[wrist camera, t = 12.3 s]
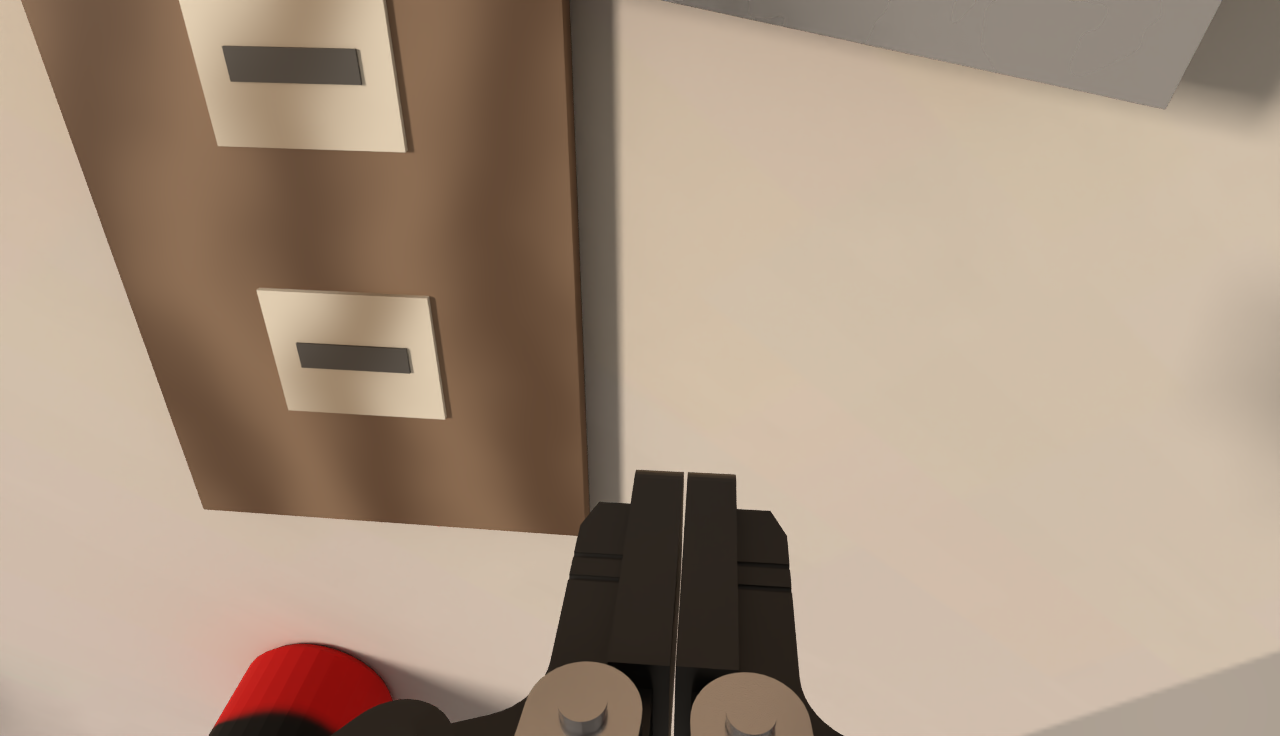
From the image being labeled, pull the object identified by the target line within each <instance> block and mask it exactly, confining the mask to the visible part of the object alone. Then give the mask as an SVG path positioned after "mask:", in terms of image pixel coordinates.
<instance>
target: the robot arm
mask: <svg viewBox="0 0 1280 736" xmlns="http://www.w3.org/2000/svg"><path fill="white" fill-rule="evenodd" d="M683 491H684V472H670V471H650V470H636V473H635V478H634V485H633V492H632V498H631V504H626V503H608V502H599V503H598V504H597V505H596V507H595V508H594V509H593V510H592V511H591V513H590V514H589V515H588V516H587V517H586V519H585V520H584V521H583V522H582V523H581V525H580V528H579V533H578V537H577V542H576V547H575V551H574V557H573V560H572V565H571V569H570V574H569V580H568V583H567V588H566V592H565V597H564V601H563V606H562V611H561V615H560V620H559V624H558V629H557V633H556V638H555V643H554V647H553V652H552V656H551V661H550V664H549V667H548V670H547V672H546V674H545V676H544V677H542V678H541V679H540V680H539V681H538V682H537V683H536V684H535V686H534V687H533V689H532V690H531V692H530V693H529V695H528V696H527V697H526V698H525V699H523V700H522V701H521V702H519V703H517V704H515V705H514V706H512V707H510V708H508V709H505V710H503V711H501V712H497V713H494V714H491V715H486V716H482V717H478V718H473V719H469V720H464V721H460V722H455V723H450V721H449V719H448V718H447V717H446V715H445V714H444V713H443V712H442V711H441V710H439V709H438V708H437V707H435V706H433V705H431V704H429V703H426V702H423V701H419V700H411V699H404V700H394V701H389V702H386V703H382V704H379V705H377V706H375V707H373V708H370V709H368V710H367V711H365V712H363V713H362V714H360V715H359V716H357V717H356V718H354V719H353V720H352V721H350V722H349V723H347V724H346V725H345V726H343V727H342V728H340V729H339V730H338V731H336V732H335V733H333V734H332V735H331V736H671V723H672V708H673V692H674V676H675V714H674V736H843V735H841V734H840V733H838V732H836V731H835V730H833V729H832V728H831V727H829V726H828V725H827V724H826V723H824V722H823V721H822V720H821V719H820V718H819V717H818V716H817V715H816V713H815V712H814V711H813V709H812V708H811V707H810V705H809V704H808V702H807V700H806V698H805V696H804V694H803V691H802V688H801V683H800V677H799V666H798V655H797V644H796V632H795V621H794V610H793V599H792V593H791V576H790V570H789V554H788V542H787V535H786V534H785V532H784V531H783V529H782V528H781V526H780V525H779V523H778V522H777V520H776V519H775V517H774V516H773V514H772V513H771V511H761V510H742V509H737V505H736V475H733V474H713V473H694V472H688V479H687V494H686V510H685V526H684V542H683V558H682V527H683ZM681 559H682V574H681ZM680 581H681V590H680ZM679 598H680V606H679ZM678 613H679V622H678ZM677 629H678V638H677ZM676 645H677V654H676ZM675 660H676V675H675Z"/></svg>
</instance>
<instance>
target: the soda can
mask: <svg viewBox="0 0 1280 736" xmlns="http://www.w3.org/2000/svg"><path fill="white" fill-rule="evenodd" d="M389 701H393V700H392V698H391V695H390V693H389V690H388V688H387V686H386V685H385V683H384V682H383V680H382V679H381V678H380V677H379V676H378V675H377V674H376V672H375V671H374V670H372V669H371V668H370V667H368V666H367V665H366V664H365V663H363V662H362V661H360V660H358V659H356V658H355V657H353V656H351V655H349V654H346V653H344V652H341V651H339V650H336V649H332V648H329V647H325V646H320V645H313V644H292V645H285V646H282V647H279V648H276V649H273V650H270V651H267V652H265V653H264V654H262V655H260V656H259V657H257V658H256V659H255V660H254V661H253V662H252V664H251V665H250V666H249V668H248V670H247V672H246V673H245V675H244V677H243V678H242V680H241V682H240V683H239V685H238V687H237V688H236V690H235V692H234V694H233V695H232V697H231V699H230V700H229V702H228V704H227V705H226V707H225V709H224V710H223V712H222V714H221V716H220V717H219V719H218V721H217V722H216V724H215V726H214V727H213V729H212V731H211V732H210V734H209V736H331V735H332V734H333V733H335V732H336V731H338V730H339V729H340V728H342V727H343V726H345V725H346V724H347V723H349V722H350V721H352V720H353V719H354V718H356V717H357V716H359V715H360V714H362V713H363V712H365V711H367V710H368V709H370V708H373V707H375V706H377V705H379V704H382V703H386V702H389Z"/></svg>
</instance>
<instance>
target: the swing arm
mask: <svg viewBox="0 0 1280 736" xmlns="http://www.w3.org/2000/svg"><path fill="white" fill-rule="evenodd" d="M663 1H668V2H672V3H677V4H682V5H686V6H691V7H695V8H700V9H705V10H709V11H714V12H718V13H723V14H728V15H732V16H737V17H741V18H746V19H751V20H755V21H760V22H764V23H769V24H774V25H778V26H783V27H787V28H792V29H797V30H801V31H806V32H810V33H815V34H820V35H824V36H829V37H834V38H838V39H843V40H847V41H852V42H857V43H861V44H866V45H870V46H875V47H880V48H884V49H889V50H893V51H898V52H903V53H907V54H912V55H916V56H921V57H926V58H930V59H935V60H939V61H944V62H949V63H953V64H958V65H962V66H967V67H972V68H976V69H981V70H986V71H990V72H995V73H999V74H1004V75H1009V76H1013V77H1018V78H1022V79H1027V80H1032V81H1036V82H1041V83H1045V84H1050V85H1055V86H1059V87H1064V88H1068V89H1073V90H1078V91H1082V92H1087V93H1091V94H1096V95H1101V96H1105V97H1110V98H1114V99H1119V100H1124V101H1128V102H1133V103H1138V104H1142V105H1147V106H1151V107H1156V108H1161V109H1166V107H1167V105H1168V103H1169V101H1170V100H1171V98H1172V96H1173V94H1174V92H1175V90H1176V88H1177V86H1178V84H1179V82H1180V80H1181V78H1182V77H1183V75H1184V73H1185V71H1186V69H1187V67H1188V65H1189V63H1190V61H1191V59H1192V57H1193V55H1194V54H1195V52H1196V50H1197V48H1198V46H1199V44H1200V42H1201V40H1202V38H1203V36H1204V34H1205V32H1206V31H1207V29H1208V27H1209V25H1210V23H1211V21H1212V19H1213V17H1214V15H1215V13H1216V11H1217V9H1218V8H1219V6H1220V4H1221V2H1222V0H663Z"/></svg>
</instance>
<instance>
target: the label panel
mask: <svg viewBox="0 0 1280 736" xmlns="http://www.w3.org/2000/svg"><path fill="white" fill-rule="evenodd" d="M21 1H22V4H23V7H24V9H25V12H26V15H27V18H28V21H29V23H30V26H31V29H32V32H33V35H34V37H35V40H36V43H37V46H38V48H39V51H40V54H41V57H42V60H43V62H44V65H45V68H46V71H47V74H48V76H49V79H50V82H51V85H52V87H53V90H54V93H55V96H56V99H57V101H58V104H59V107H60V110H61V113H62V115H63V118H64V121H65V124H66V126H67V129H68V132H69V135H70V138H71V140H72V143H73V146H74V149H75V152H76V154H77V157H78V160H79V163H80V165H81V168H82V171H83V174H84V177H85V179H86V182H87V185H88V188H89V191H90V193H91V196H92V199H93V202H94V204H95V207H96V210H97V213H98V216H99V218H100V221H101V224H102V227H103V230H104V232H105V235H106V238H107V241H108V243H109V246H110V249H111V252H112V255H113V257H114V260H115V263H116V266H117V269H118V271H119V274H120V277H121V280H122V282H123V285H124V288H125V291H126V294H127V296H128V299H129V302H130V305H131V308H132V310H133V313H134V316H135V319H136V321H137V324H138V327H139V330H140V333H141V335H142V338H143V341H144V344H145V347H146V349H147V352H148V355H149V358H150V360H151V363H152V366H153V369H154V372H155V374H156V377H157V380H158V383H159V386H160V388H161V391H162V394H163V397H164V399H165V402H166V405H167V408H168V411H169V413H170V416H171V419H172V422H173V425H174V427H175V430H176V433H177V436H178V438H179V441H180V444H181V447H182V450H183V452H184V455H185V458H186V461H187V464H188V466H189V469H190V472H191V475H192V477H193V480H194V483H195V486H196V489H197V491H198V494H199V497H200V500H201V503H202V505H203V508H204V509H208V510H222V511H236V512H250V513H264V514H278V515H292V516H306V517H320V518H334V519H348V520H362V521H376V522H390V523H404V524H419V525H433V526H447V527H461V528H475V529H489V530H503V531H517V532H531V533H545V534H559V535H573V536H578V533H579V528H580V525H581V523H582V522H583V521H584V520H585V519H586V517H587V516H588V515H589V514H590V506H589V480H588V455H587V430H586V405H585V379H584V354H583V329H582V304H581V278H580V253H579V228H578V203H577V177H576V152H575V127H574V101H573V76H572V51H571V26H570V0H21Z"/></svg>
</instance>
